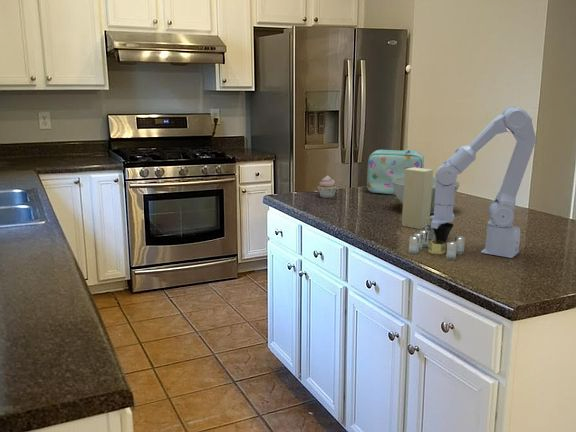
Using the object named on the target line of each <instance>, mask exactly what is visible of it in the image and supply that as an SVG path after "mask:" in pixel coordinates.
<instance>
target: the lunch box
mask: <svg viewBox="0 0 576 432" xmlns="http://www.w3.org/2000/svg"><path fill="white" fill-rule="evenodd" d="M367 160H368V161H367V176H366V177H367V178H366V186H367V190H368V191H369V192H370V193H372V194H383V195H393V196H396V194H395V192H394V190H393V186H392V180H393V179H395V178H399V177H405V169H408V168H413V167H416V168H424V169H426V168H425V166H424V165H425V158H424V155H423V153H421V152H420V151H418V150H412V149H411V148H409V149H406V150H405V149H404V150H395V149H392V150H391V149H377V150H374V151H373V152H372V153H371V154H370V155H369V157H368V159H367Z"/></svg>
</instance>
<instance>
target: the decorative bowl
mask: <svg viewBox="0 0 576 432" xmlns="http://www.w3.org/2000/svg"><path fill="white" fill-rule="evenodd" d="M404 179H405V177H399V178H395V179H393V180H392V186H393V190H394V192H395V194H396V195H395V196H396V197H397V199H398V201H399V202H401V204H402V205H403V195H404ZM436 182H437V178H436V176H433V180H432V194H431V208H430V215H432V214H433V215H434V204H435V189H436ZM459 187H460V182H459V181H457V180H456V181H455V182H454V190H455V191H454V197H455V196H456V195H457V192H458V189H459Z"/></svg>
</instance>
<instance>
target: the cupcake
mask: <svg viewBox="0 0 576 432" xmlns="http://www.w3.org/2000/svg"><path fill="white" fill-rule="evenodd" d="M318 184H319V185H318V186H316V188H317V189H318V192H319V197H320V198H321V199H334V198H335V195H336V191H337V190H338V188H339V186H336V182H335V180H334V179H332V178H331V176H329V175H326V176H324V177H323V178H322V179H321V181H320V182H319V183H318Z"/></svg>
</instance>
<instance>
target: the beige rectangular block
mask: <svg viewBox="0 0 576 432" xmlns="http://www.w3.org/2000/svg"><path fill="white" fill-rule="evenodd" d="M424 168H425V167H424ZM424 168H416V167H413V168H408V169H405V179H404V195H403V204H402V212H401V213H402V215H401V226H403V227H407V228H411V229H412V228H413V229H417V230H423V229H424V228H425V222H426V224H430V222H431V221H430V216H431V214H430V208H431V194H432V180H433V177H434V170H433V169H429V168H425V169H424Z"/></svg>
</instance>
